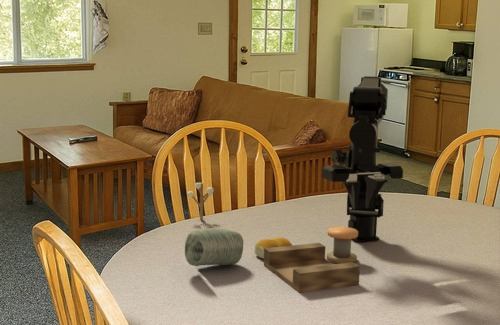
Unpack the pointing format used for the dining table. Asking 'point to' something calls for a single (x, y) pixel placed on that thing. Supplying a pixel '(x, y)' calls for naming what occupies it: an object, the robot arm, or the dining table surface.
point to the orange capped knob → (342, 245)
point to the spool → (213, 247)
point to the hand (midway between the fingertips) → (361, 208)
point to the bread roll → (270, 245)
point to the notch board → (309, 268)
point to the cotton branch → (201, 196)
